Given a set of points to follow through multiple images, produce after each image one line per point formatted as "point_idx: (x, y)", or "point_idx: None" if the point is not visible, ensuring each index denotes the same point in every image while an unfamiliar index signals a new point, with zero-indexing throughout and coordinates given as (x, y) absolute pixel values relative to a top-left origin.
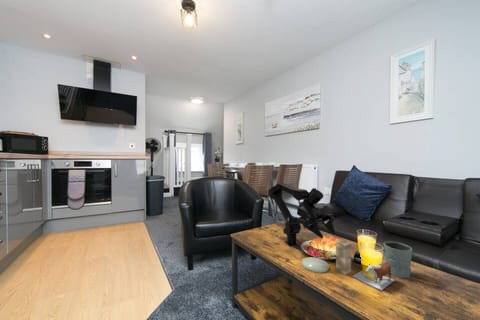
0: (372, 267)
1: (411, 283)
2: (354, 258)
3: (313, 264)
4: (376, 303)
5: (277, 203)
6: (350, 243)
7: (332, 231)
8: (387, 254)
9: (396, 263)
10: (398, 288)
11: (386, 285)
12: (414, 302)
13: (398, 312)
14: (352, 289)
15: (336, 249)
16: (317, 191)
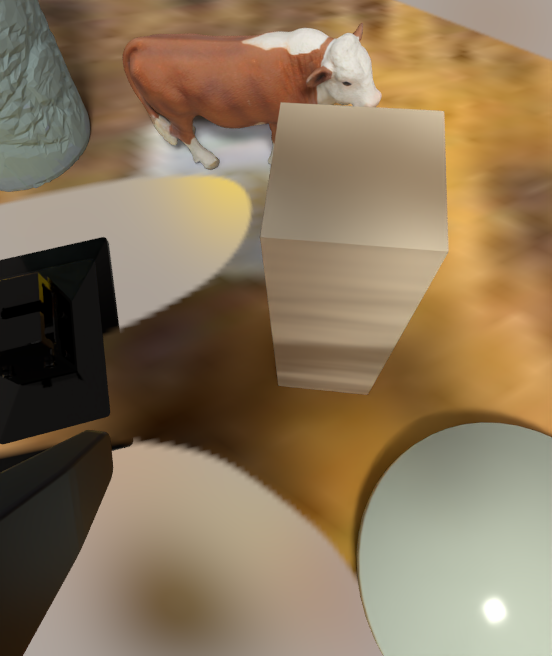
0: (359, 41)
1: (119, 71)
2: (64, 359)
3: (549, 567)
4: (488, 97)
5: None
6: (292, 103)
7: (60, 521)
8: (2, 45)
9: (50, 46)
10: None
11: (260, 125)
12: (306, 25)
13: (454, 36)
14: (497, 205)
15: (411, 306)
16: None
